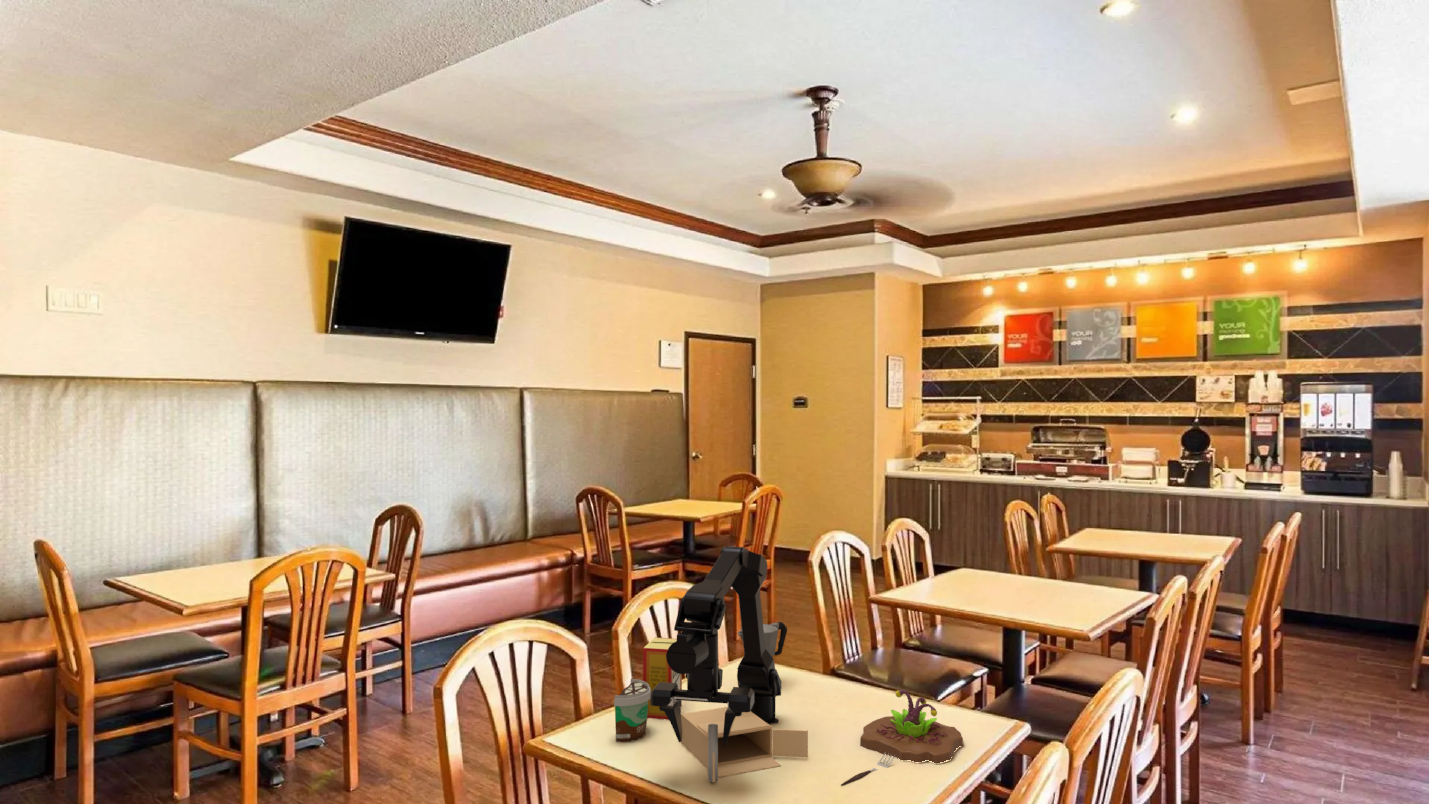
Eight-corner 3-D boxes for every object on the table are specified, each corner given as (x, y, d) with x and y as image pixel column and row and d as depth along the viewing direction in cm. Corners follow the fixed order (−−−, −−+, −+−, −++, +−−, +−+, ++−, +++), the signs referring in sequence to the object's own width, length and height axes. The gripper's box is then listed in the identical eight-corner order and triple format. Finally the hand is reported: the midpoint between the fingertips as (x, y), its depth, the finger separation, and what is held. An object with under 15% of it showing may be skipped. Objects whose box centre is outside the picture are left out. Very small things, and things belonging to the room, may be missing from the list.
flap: (718, 781, 155) (718, 727, 156) (708, 782, 155) (708, 727, 155) (713, 766, 162) (713, 714, 162) (704, 767, 162) (704, 714, 162)
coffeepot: (750, 698, 203) (750, 623, 203) (727, 688, 211) (727, 616, 211) (798, 687, 212) (798, 615, 212) (774, 677, 219) (774, 608, 220)
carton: (766, 728, 184) (766, 699, 184) (810, 760, 166) (810, 728, 167) (680, 742, 175) (681, 712, 175) (717, 778, 158) (717, 744, 158)
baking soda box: (670, 720, 189) (671, 648, 189) (642, 717, 190) (643, 646, 190) (681, 705, 198) (681, 637, 198) (655, 703, 199) (655, 635, 200)
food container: (642, 747, 173) (642, 698, 173) (613, 744, 174) (613, 696, 175) (658, 725, 185) (658, 679, 185) (631, 723, 186) (631, 677, 187)
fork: (835, 786, 156) (835, 775, 156) (884, 761, 167) (884, 751, 167) (846, 790, 154) (846, 779, 154) (895, 765, 165) (895, 755, 165)
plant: (883, 720, 190) (883, 670, 190) (971, 738, 179) (971, 685, 179) (847, 750, 173) (847, 695, 173) (942, 772, 162) (941, 714, 162)
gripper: (758, 649, 163) (758, 731, 162) (664, 644, 166) (664, 724, 166) (749, 666, 152) (749, 753, 152) (649, 660, 155) (649, 745, 155)
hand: (702, 743), depth 156 cm, fingers open, 8 cm apart
